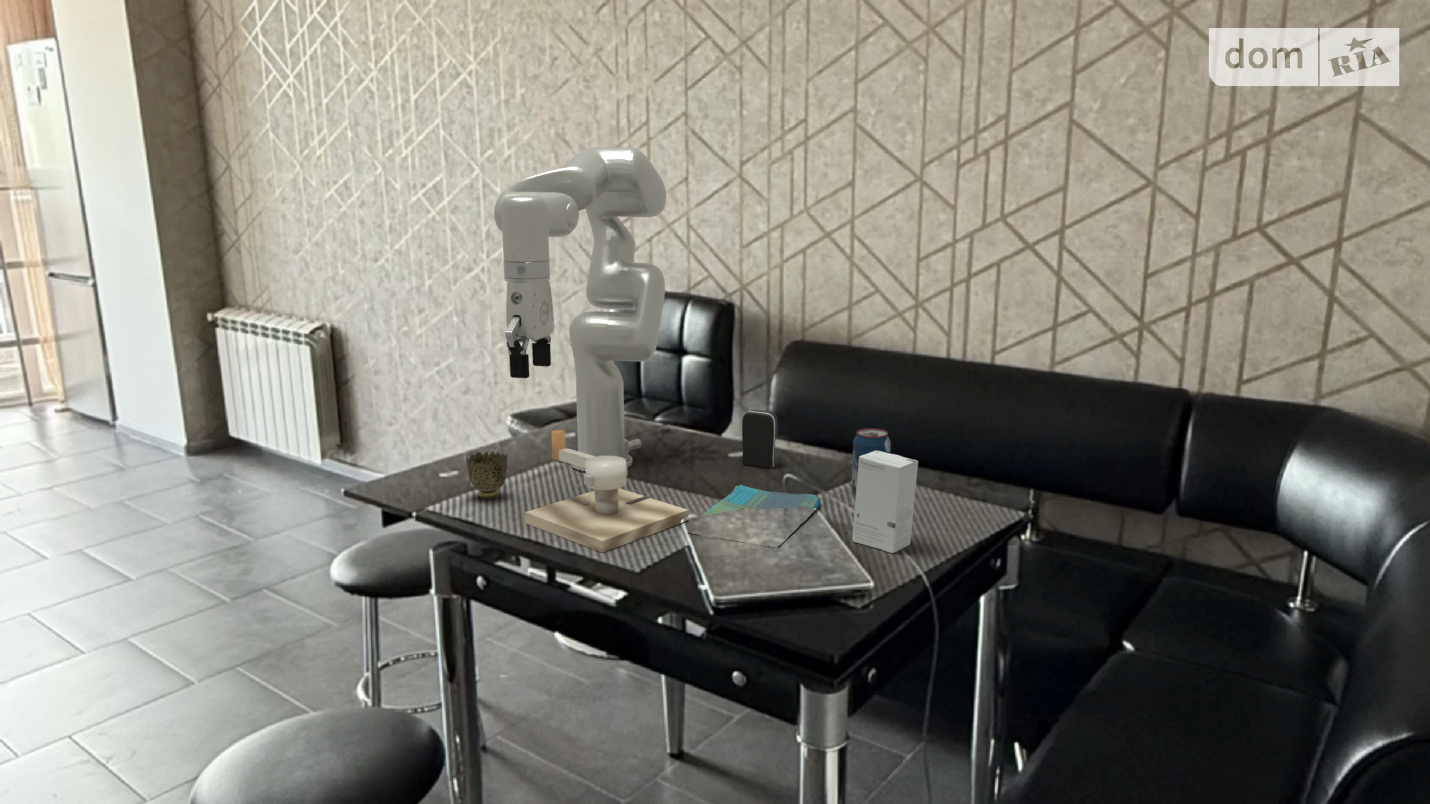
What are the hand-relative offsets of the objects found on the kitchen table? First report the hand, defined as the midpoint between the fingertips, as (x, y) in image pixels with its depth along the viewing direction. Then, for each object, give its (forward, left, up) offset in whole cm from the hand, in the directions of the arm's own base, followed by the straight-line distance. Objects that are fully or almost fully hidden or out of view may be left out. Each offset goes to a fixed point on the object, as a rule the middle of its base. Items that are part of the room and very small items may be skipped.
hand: (531, 371), depth 178 cm
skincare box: (-30, +52, -26) cm, 66 cm away
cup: (0, -15, -26) cm, 30 cm away
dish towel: (-25, +29, -27) cm, 47 cm away
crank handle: (-6, +6, -19) cm, 21 cm away
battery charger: (-50, +9, -26) cm, 58 cm away
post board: (-6, +11, -26) cm, 29 cm away
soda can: (-50, +36, -26) cm, 68 cm away
